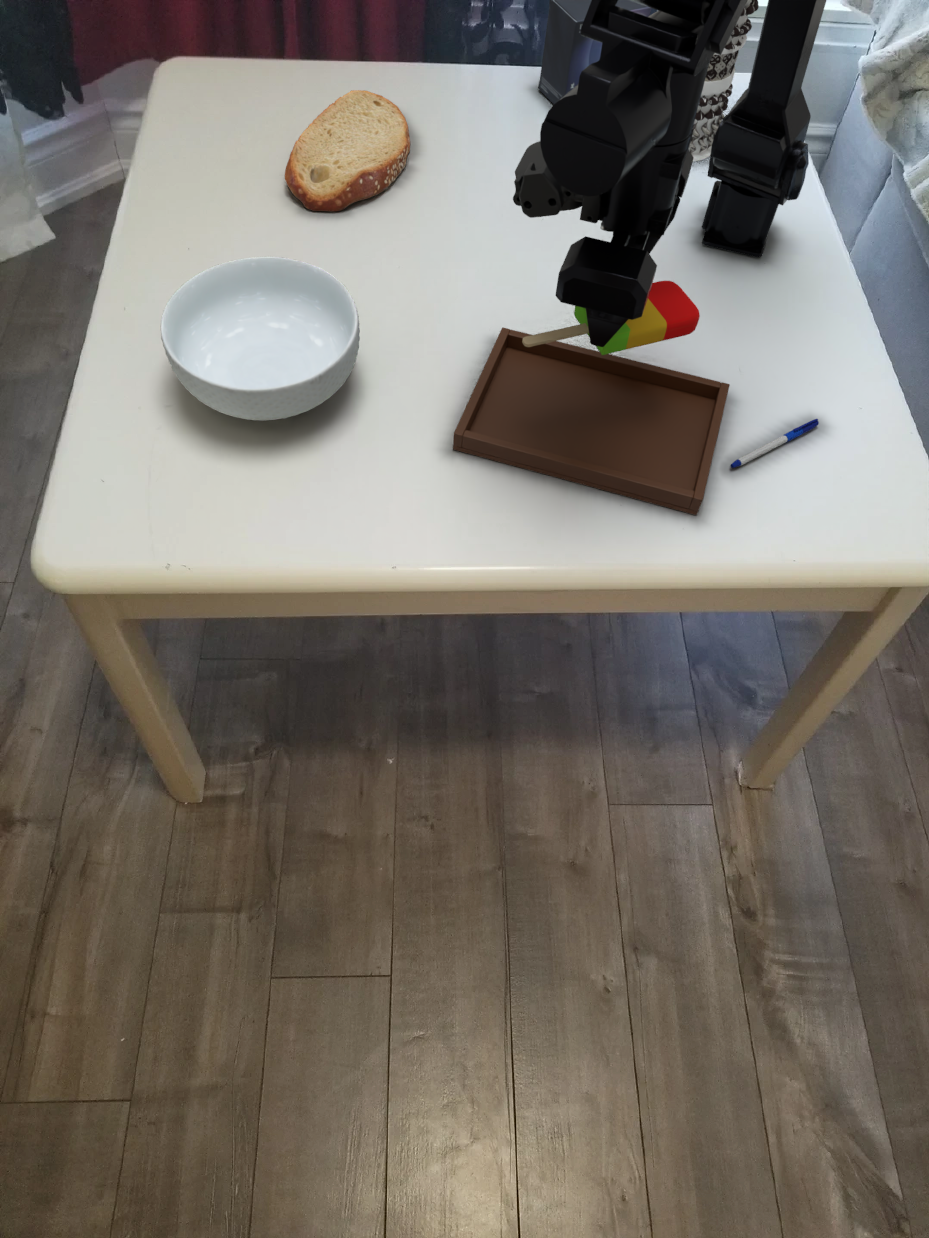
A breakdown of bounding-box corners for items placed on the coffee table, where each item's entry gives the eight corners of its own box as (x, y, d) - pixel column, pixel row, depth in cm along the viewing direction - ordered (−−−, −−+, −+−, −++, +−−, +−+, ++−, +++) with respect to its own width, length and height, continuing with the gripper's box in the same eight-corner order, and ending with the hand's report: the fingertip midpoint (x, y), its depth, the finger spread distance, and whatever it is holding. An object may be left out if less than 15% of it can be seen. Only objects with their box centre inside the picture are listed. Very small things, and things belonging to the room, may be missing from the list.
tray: (723, 400, 84) (729, 384, 83) (696, 515, 77) (702, 500, 75) (500, 344, 87) (502, 327, 86) (452, 449, 80) (453, 433, 78)
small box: (562, 116, 110) (575, 21, 101) (536, 90, 113) (546, -5, 104) (636, 98, 113) (654, 4, 104) (607, 73, 116) (623, -20, 107)
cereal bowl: (159, 341, 85) (140, 276, 79) (330, 304, 89) (324, 239, 83) (201, 469, 77) (183, 407, 71) (388, 422, 81) (386, 360, 75)
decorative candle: (685, 113, 112) (748, -141, 91) (735, 151, 108) (813, -105, 87) (626, 132, 109) (676, -126, 88) (674, 171, 105) (740, -89, 84)
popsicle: (701, 334, 75) (707, 315, 74) (536, 373, 72) (539, 354, 70) (668, 294, 78) (674, 275, 77) (508, 330, 74) (510, 311, 73)
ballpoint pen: (811, 421, 83) (815, 413, 83) (818, 427, 83) (822, 419, 82) (728, 467, 80) (731, 459, 79) (735, 473, 79) (738, 465, 79)
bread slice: (379, 101, 110) (378, 68, 107) (456, 177, 102) (457, 144, 99) (240, 137, 104) (235, 104, 101) (310, 222, 96) (306, 188, 93)
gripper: (568, 36, 67) (542, 228, 80) (493, 171, 57) (478, 365, 70) (718, 67, 65) (667, 257, 79) (668, 211, 56) (619, 401, 69)
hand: (608, 315), depth 74 cm, fingers closed on popsicle, 7 cm apart
